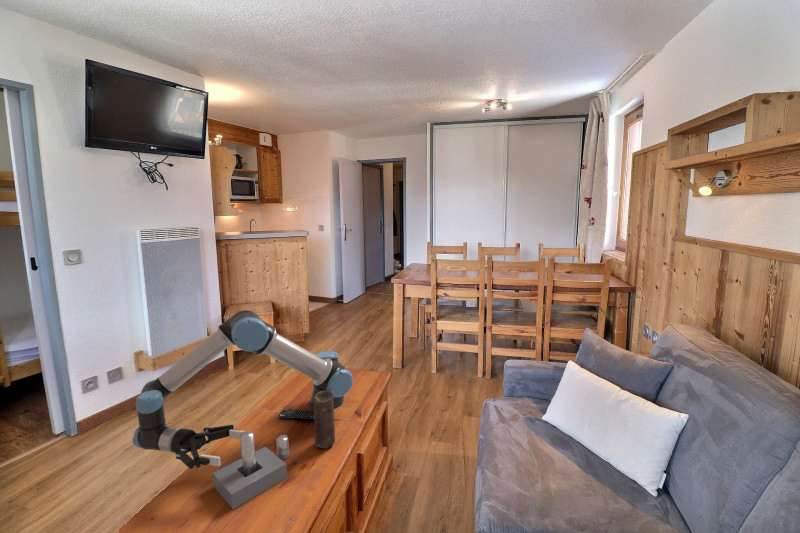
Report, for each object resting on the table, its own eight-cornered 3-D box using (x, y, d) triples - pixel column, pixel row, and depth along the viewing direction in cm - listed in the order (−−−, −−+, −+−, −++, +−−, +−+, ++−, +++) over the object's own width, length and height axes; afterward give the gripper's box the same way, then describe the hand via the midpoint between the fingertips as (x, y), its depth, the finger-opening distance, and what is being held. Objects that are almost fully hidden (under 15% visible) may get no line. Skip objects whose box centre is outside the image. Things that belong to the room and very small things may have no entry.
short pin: (285, 451, 139) (284, 433, 138) (291, 455, 137) (290, 437, 136) (275, 456, 137) (274, 438, 135) (281, 461, 134) (279, 443, 133)
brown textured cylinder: (339, 440, 145) (336, 391, 142) (329, 452, 138) (326, 401, 135) (321, 437, 147) (318, 388, 144) (311, 448, 140) (308, 398, 137)
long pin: (254, 476, 127) (249, 429, 124) (259, 481, 124) (255, 433, 121) (242, 482, 124) (237, 434, 121) (247, 488, 121) (243, 439, 118)
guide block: (266, 459, 135) (265, 446, 134) (287, 477, 126) (286, 463, 125) (214, 487, 122) (212, 472, 121) (233, 509, 113) (231, 494, 112)
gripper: (206, 429, 140) (257, 436, 135) (147, 476, 116) (208, 485, 111) (203, 410, 139) (255, 416, 134) (144, 453, 115) (205, 462, 110)
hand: (234, 447), depth 123 cm, fingers open, 13 cm apart
